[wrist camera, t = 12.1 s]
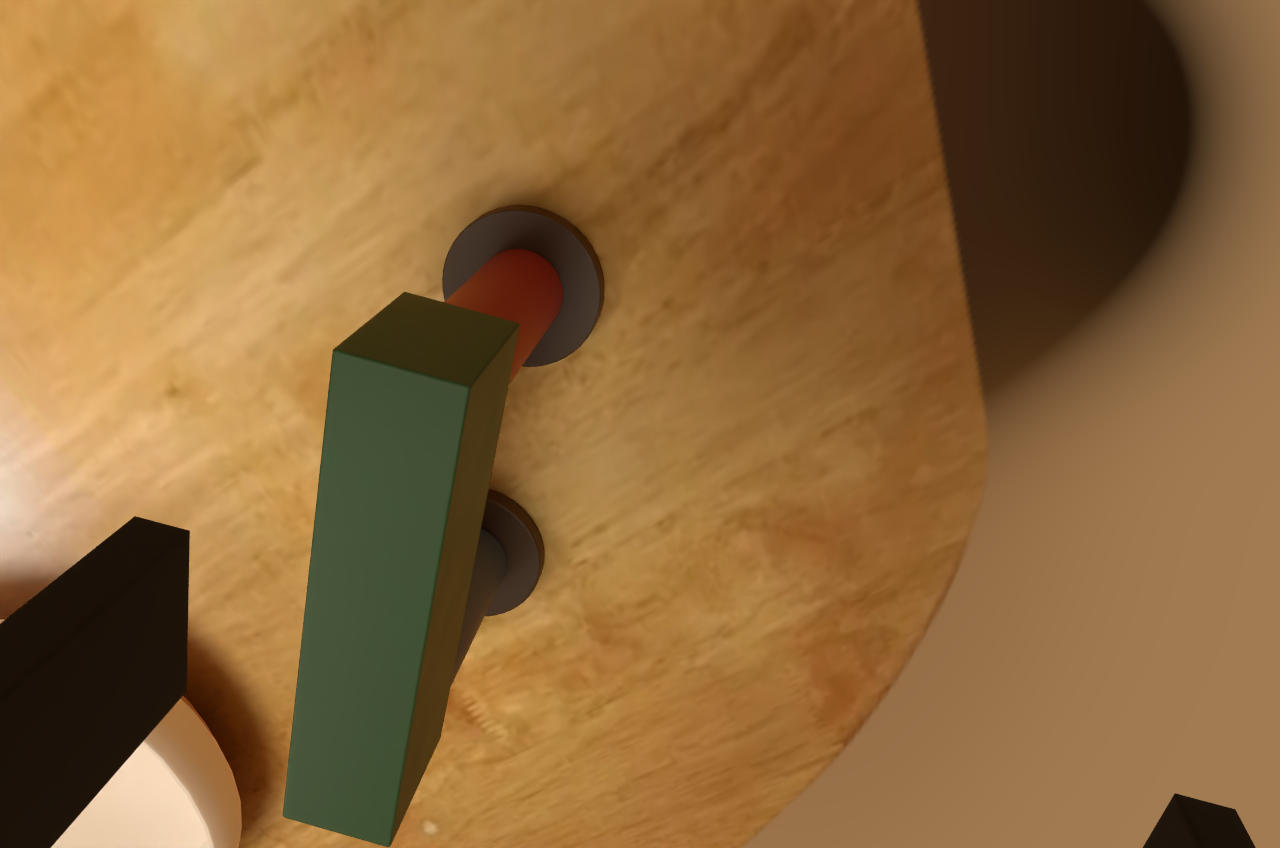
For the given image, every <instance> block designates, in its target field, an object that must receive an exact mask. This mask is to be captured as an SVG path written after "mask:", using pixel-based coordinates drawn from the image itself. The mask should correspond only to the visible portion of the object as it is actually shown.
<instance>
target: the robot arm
mask: <svg viewBox="0 0 1280 848" xmlns="http://www.w3.org/2000/svg"><path fill="white" fill-rule="evenodd" d="M189 538H190V531H188V530H184V529H181V528H177V527H173V526H169V525H166V524H162V523H158V522H154V521H151V520H147V519H143V518H139V517H136V516H135V517H133V518H132V519H131V520H130V521H128V522H127V523H126V524H125V525H123V526H122V527H121V528H120V529H118V530H117V531H116V532H115V533H113V534H112V535H111V536H110V537H108V538H107V539H106V540H105V541H103V542H102V543H101V544H100V545H98V546H97V547H96V548H95V549H93V550H92V551H91V552H90V553H88V554H87V555H86V556H85V557H83V558H82V559H81V560H80V561H78V562H77V563H76V564H75V565H73V566H72V567H71V568H70V569H68V570H67V571H66V572H64V573H63V574H62V575H61V576H59V577H58V578H57V579H56V580H54V581H53V582H52V583H51V584H49V585H48V586H47V587H46V588H44V589H43V590H42V591H41V592H39V593H38V594H37V595H36V596H34V597H33V598H32V599H31V600H29V601H28V602H27V603H26V604H24V605H23V606H22V607H21V608H19V609H18V610H17V611H16V612H14V613H13V614H12V615H11V616H9V617H8V618H7V619H6V620H4V621H3V622H2V623H1V624H0V848H51V847H52V846H53V845H54V844H55V842H56V841H57V840H58V839H59V838H60V837H61V836H62V834H63V833H64V832H65V831H66V830H67V829H68V827H69V826H70V825H71V824H72V823H73V822H74V821H75V819H76V818H77V817H78V816H79V815H80V814H81V812H82V811H83V810H84V809H85V808H86V807H87V806H88V804H89V803H90V802H91V801H92V800H93V799H94V798H95V796H96V795H97V794H98V793H99V792H100V791H101V789H102V788H103V787H104V786H105V785H106V784H107V783H108V781H109V780H110V779H111V778H112V777H113V776H114V775H115V773H116V772H117V771H118V770H119V769H120V768H121V766H122V765H123V764H124V763H125V762H126V761H127V760H128V758H129V757H130V756H131V755H132V754H133V753H134V752H135V750H136V749H137V748H138V747H139V746H140V745H141V743H142V742H143V741H144V740H145V739H146V738H147V737H148V735H149V734H150V733H151V732H152V731H153V730H154V728H155V727H156V726H157V725H158V724H159V723H160V722H161V720H162V719H163V718H164V717H165V716H166V715H167V714H168V712H169V711H170V710H171V709H172V708H173V707H174V705H175V704H176V703H177V702H178V701H179V700H180V699H181V697H182V696H183V695H184V694H185V693H186V686H187V637H188V587H189ZM1143 848H1255V846H1254V844H1253V842H1252V840H1251V839H1250V836H1249V834H1248V833H1247V831H1246V829H1245V827H1244V825H1243V823H1242V821H1241V819H1240V818H1239V816H1238V814H1237V812H1236V810H1235V809H1232V808H1227V807H1224V806H1220V805H1217V804H1212V803H1208V802H1205V801H1201V800H1198V799H1194V798H1190V797H1186V796H1183V795H1179V794H1174V796H1173V797H1172V799H1171V801H1170V803H1169V805H1168V806H1167V808H1166V809H1165V811H1164V813H1163V815H1162V816H1161V818H1160V819H1159V821H1158V823H1157V825H1156V826H1155V828H1154V830H1153V831H1152V833H1151V835H1150V837H1149V838H1148V840H1147V841H1146V843H1145V845H1144V847H1143Z"/></svg>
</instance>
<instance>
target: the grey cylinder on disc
mask: <svg viewBox="0 0 1280 848" xmlns="http://www.w3.org/2000/svg"><path fill="white" fill-rule="evenodd" d="M543 563H544V549H543V543H542V540H541V536H540V534H539V532H538V529H537V527H536V526H535V524H534V522H533V521H532V519H531V518H530V517H529V516H528V514H527V513H526V512H525V511H524V510H523V509H522V508H521V507H520V506H519V505H517V504H516V503H515V502H513V501H512V500H510V499H509V498H507V497H505V496H504V495H502V494H499V493H497V492H495V491H492V490H489V489H488V494H487V499H486V504H485V509H484V515H483V520H482V525H481V530H480V535H479V541H478V546H477V551H476V556H475V561H474V566H473V572H472V577H471V582H470V587H469V592H468V597H467V603H466V608H465V613H464V618H463V623H462V629H461V634H460V639H459V644H458V649H457V654H456V660H455V665H454V670H453V675H452V680H451V685H452V683H453V681H454V679H455V677H456V674H457V672H458V670H459V668H460V666H461V664H462V662H463V660H464V658H465V656H466V654H467V652H468V649H469V647H470V645H471V643H472V641H473V639H474V637H475V635H476V633H477V631H478V629H479V627H480V624H481V622H482V620H483V618H484V616H493V615H498V614H502V613H505V612H507V611H510V610H512V609H514V608H515V607H517V606H519V605H520V604H521V603H523V602H524V601H525V600H526V599H527V598H528V597H529V596H530V594H531V593H532V592H533V590H534V588H535V586H536V584H537V582H538V580H539V577H540V575H541V572H542V569H543ZM451 685H450V687H451Z"/></svg>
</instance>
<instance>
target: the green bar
mask: <svg viewBox="0 0 1280 848" xmlns="http://www.w3.org/2000/svg"><path fill="white" fill-rule="evenodd" d="M519 328H520V324H519V323H517V322H514V321H510V320H506V319H503V318H499V317H495V316H492V315H488V314H484V313H481V312H477V311H473V310H470V309H466V308H462V307H459V306H455V305H451V304H448V303H444V302H440V301H437V300H433V299H429V298H426V297H422V296H418V295H415V294H411V293H407V292H404V293H402V294H401V295H400V296H399V297H397V298H396V299H395V300H394V301H392V302H391V303H390V304H389V305H388V306H386V307H385V308H384V309H383V310H381V311H380V312H379V313H378V314H376V315H375V316H374V317H373V318H372V319H370V320H369V321H368V322H367V323H365V324H364V325H363V326H362V327H360V328H359V329H358V330H357V331H356V332H354V333H353V334H352V335H351V336H349V337H348V338H347V339H346V340H344V341H343V342H342V343H341V344H339V345H338V346H337V347H336V348H335V349H334V350H333V354H332V363H331V373H330V382H329V391H328V401H327V410H326V419H325V428H324V438H323V447H322V456H321V465H320V475H319V484H318V493H317V502H316V512H315V521H314V530H313V540H312V549H311V558H310V567H309V577H308V586H307V595H306V604H305V614H304V623H303V632H302V641H301V651H300V660H299V669H298V679H297V688H296V697H295V706H294V716H293V725H292V734H291V743H290V753H289V762H288V771H287V781H286V790H285V799H284V808H283V817H285V818H288V819H292V820H295V821H299V822H302V823H306V824H309V825H313V826H316V827H320V828H323V829H327V830H330V831H334V832H337V833H341V834H344V835H347V836H351V837H354V838H358V839H361V840H365V841H368V842H372V843H375V844H379V845H382V846H386V847H390V845H391V844H392V842H393V839H394V837H395V835H396V833H397V831H398V829H399V826H400V824H401V822H402V820H403V818H404V816H405V813H406V811H407V809H408V807H409V805H410V802H411V800H412V798H413V796H414V794H415V792H416V789H417V787H418V785H419V783H420V781H421V779H422V776H423V774H424V772H425V770H426V768H427V766H428V763H429V761H430V759H431V757H432V755H433V753H434V750H435V748H436V746H437V744H438V742H439V740H440V737H441V732H442V727H443V722H444V717H445V711H446V706H447V701H448V696H449V691H450V685H451V680H452V675H453V670H454V665H455V660H456V654H457V649H458V644H459V639H460V634H461V629H462V623H463V618H464V613H465V608H466V603H467V597H468V592H469V587H470V582H471V577H472V572H473V566H474V561H475V556H476V551H477V546H478V541H479V535H480V530H481V525H482V520H483V515H484V509H485V504H486V499H487V494H488V489H489V484H490V478H491V473H492V468H493V463H494V458H495V453H496V447H497V442H498V437H499V432H500V427H501V421H502V416H503V411H504V406H505V401H506V396H507V390H508V385H509V380H510V375H511V370H512V364H513V359H514V354H515V349H516V344H517V339H518V333H519Z"/></svg>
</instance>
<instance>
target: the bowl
mask: <svg viewBox="0 0 1280 848" xmlns="http://www.w3.org/2000/svg"><path fill="white" fill-rule="evenodd" d="M4 620H6V619H0V624H1V623H2V622H3V621H4ZM241 830H242V818H241V800H240V796H239V793H238V790H237V786H236V783H235V779H234V776H233V772H232V770H231V768H230V766H229V764H228V762H227V760H226V758H225V756H224V754H223V753H222V751H221V749H220V747H219V745H218V743H217V741H216V740H215V738H214V737H213V735H212V733H211V731H210V729H209V727H208V726H207V724H206V723H205V722H204V720H203V719H202V718H201V717H200V715H199V714H198V713H197V711H196V710H195V709H194V707H193V706H192V705H191V703H190V702H189V701H188V700H187V699H186V698H185V697H184V696H182V697H181V699H180V700H179V701H178V702H177V703H176V704H175V705H174V707H173V708H172V709H171V710H170V711H169V712H168V714H167V715H166V716H165V717H164V718H163V719H162V720H161V722H160V723H159V724H158V725H157V726H156V727H155V728H154V730H153V731H152V732H151V733H150V734H149V735H148V737H147V738H146V739H145V740H144V741H143V742H142V743H141V745H140V746H139V747H138V748H137V749H136V750H135V752H134V753H133V754H132V755H131V756H130V757H129V758H128V760H127V761H126V762H125V763H124V764H123V765H122V766H121V768H120V769H119V770H118V771H117V772H116V773H115V775H114V776H113V777H112V778H111V779H110V780H109V781H108V783H107V784H106V785H105V786H104V787H103V788H102V789H101V791H100V792H99V793H98V794H97V795H96V796H95V798H94V799H93V800H92V801H91V802H90V803H89V804H88V806H87V807H86V808H85V809H84V810H83V811H82V812H81V814H80V815H79V816H78V817H77V818H76V819H75V821H74V822H73V823H72V824H71V825H70V826H69V827H68V829H67V830H66V831H65V832H64V833H63V834H62V836H61V837H60V838H59V839H58V840H57V841H56V842H55V844H54V845H53V846H52V847H51V848H238V847H239V842H240V836H241Z"/></svg>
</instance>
